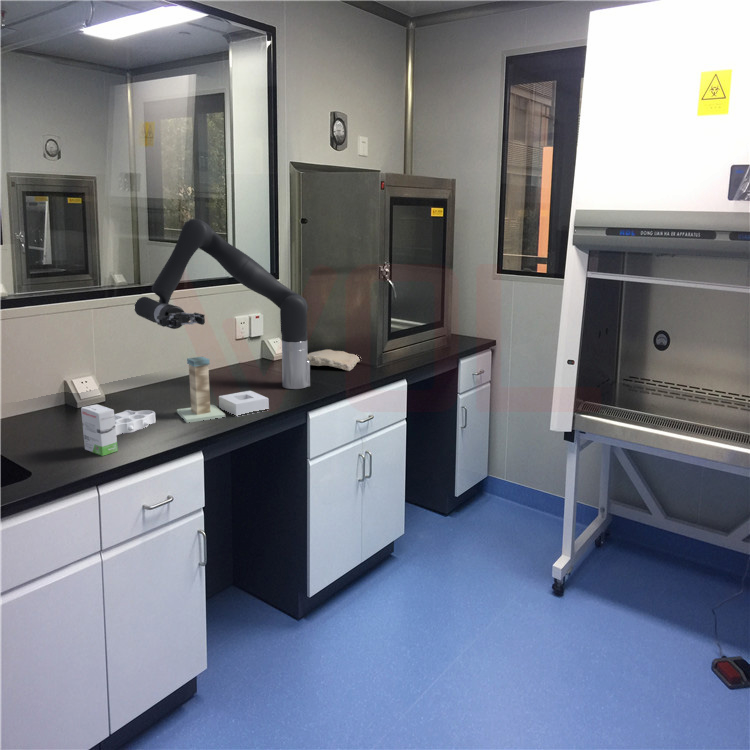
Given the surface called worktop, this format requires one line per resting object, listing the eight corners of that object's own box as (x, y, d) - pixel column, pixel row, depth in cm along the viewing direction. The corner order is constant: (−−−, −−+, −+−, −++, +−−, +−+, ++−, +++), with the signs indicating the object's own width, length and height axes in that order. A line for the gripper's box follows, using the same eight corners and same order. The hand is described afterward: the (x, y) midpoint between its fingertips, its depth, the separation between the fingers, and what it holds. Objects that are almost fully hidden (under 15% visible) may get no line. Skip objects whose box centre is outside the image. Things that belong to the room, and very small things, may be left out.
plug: (204, 408, 213) (202, 356, 209) (211, 412, 210) (209, 359, 206) (189, 411, 210) (187, 358, 206) (196, 415, 207) (194, 361, 202)
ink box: (118, 451, 178) (115, 409, 175) (101, 456, 174) (97, 413, 172) (100, 444, 183) (96, 403, 180) (83, 449, 179) (79, 407, 177)
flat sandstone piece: (346, 376, 266) (363, 361, 284) (345, 358, 264) (362, 344, 282) (291, 372, 273) (310, 358, 291) (289, 355, 271) (308, 341, 289)
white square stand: (250, 402, 225) (250, 390, 224) (268, 410, 216) (268, 398, 215) (219, 408, 218) (218, 396, 217) (236, 416, 209) (236, 404, 208)
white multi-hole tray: (133, 416, 210) (166, 424, 202) (82, 431, 195) (115, 440, 187) (132, 405, 209) (165, 413, 201) (81, 420, 194) (114, 429, 187)
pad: (214, 407, 218) (214, 404, 218) (225, 417, 208) (225, 414, 208) (176, 412, 212) (176, 409, 212) (186, 422, 202) (186, 419, 202)
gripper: (147, 306, 217) (168, 312, 205) (189, 302, 226) (211, 308, 214) (149, 329, 219) (169, 336, 207) (190, 324, 228) (212, 332, 216)
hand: (190, 322), depth 210 cm, fingers open, 8 cm apart
